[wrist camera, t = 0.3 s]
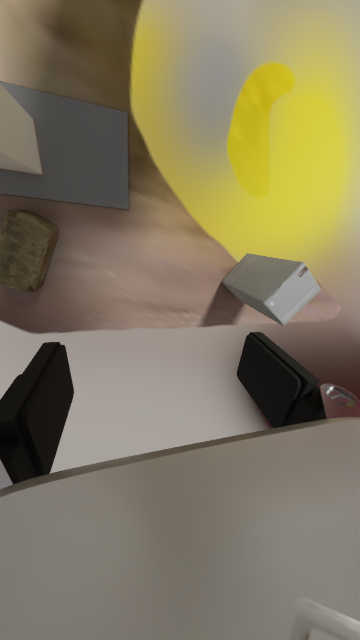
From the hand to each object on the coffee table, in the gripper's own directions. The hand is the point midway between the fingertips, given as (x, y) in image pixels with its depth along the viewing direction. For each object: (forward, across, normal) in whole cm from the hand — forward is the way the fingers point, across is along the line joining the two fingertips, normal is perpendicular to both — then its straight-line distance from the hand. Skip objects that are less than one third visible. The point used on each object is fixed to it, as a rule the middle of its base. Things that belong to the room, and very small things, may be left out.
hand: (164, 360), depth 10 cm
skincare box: (+31, -22, +2) cm, 38 cm away
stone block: (+31, +17, -1) cm, 35 cm away
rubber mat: (+31, +11, -14) cm, 36 cm away
